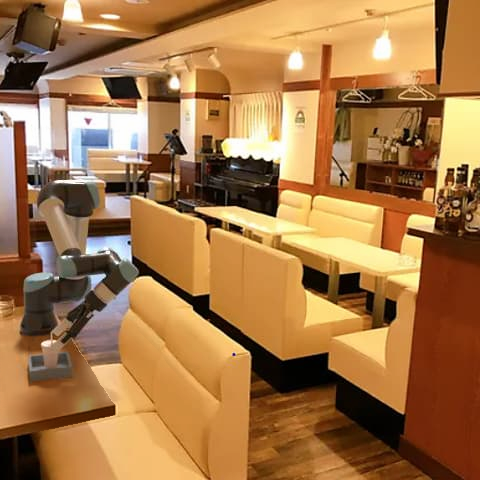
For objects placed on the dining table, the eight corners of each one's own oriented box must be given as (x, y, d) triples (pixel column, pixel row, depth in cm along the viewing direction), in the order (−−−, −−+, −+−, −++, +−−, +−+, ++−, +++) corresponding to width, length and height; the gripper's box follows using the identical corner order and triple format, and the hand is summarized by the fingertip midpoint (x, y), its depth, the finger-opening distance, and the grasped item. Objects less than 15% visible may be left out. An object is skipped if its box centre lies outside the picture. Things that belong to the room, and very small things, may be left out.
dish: (28, 365, 202) (28, 355, 201) (68, 361, 207) (68, 351, 207) (29, 381, 190) (29, 371, 189) (72, 376, 195) (72, 366, 194)
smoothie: (49, 374, 194) (49, 336, 191) (37, 369, 197) (36, 331, 195) (64, 368, 199) (64, 331, 197) (52, 363, 203) (51, 326, 200)
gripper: (111, 315, 184) (63, 362, 182) (105, 293, 207) (62, 334, 205) (94, 300, 181) (45, 348, 179) (90, 279, 204) (46, 321, 202)
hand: (54, 341), depth 192 cm, fingers open, 13 cm apart
